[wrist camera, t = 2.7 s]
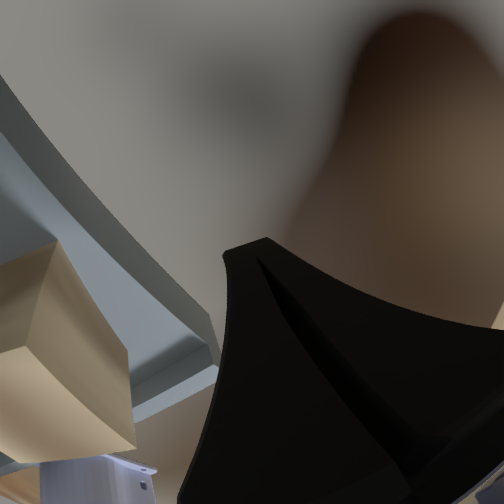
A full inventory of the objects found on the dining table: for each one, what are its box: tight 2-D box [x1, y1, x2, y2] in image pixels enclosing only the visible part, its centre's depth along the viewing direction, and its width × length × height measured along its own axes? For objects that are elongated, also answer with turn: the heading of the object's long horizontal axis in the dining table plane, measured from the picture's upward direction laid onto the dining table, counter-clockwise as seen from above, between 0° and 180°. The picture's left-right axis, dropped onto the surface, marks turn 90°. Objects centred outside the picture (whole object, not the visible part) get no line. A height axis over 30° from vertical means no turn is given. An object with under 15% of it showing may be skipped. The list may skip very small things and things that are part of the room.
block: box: [0, 240, 137, 463], centre depth 7 cm, size 5×5×4 cm
